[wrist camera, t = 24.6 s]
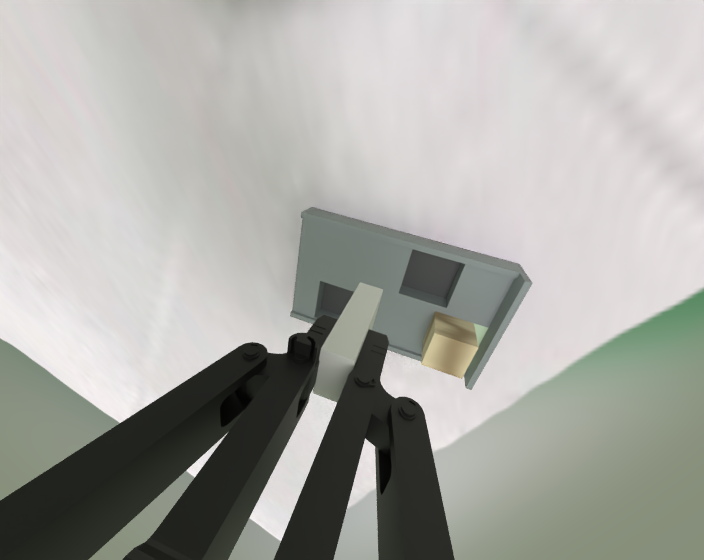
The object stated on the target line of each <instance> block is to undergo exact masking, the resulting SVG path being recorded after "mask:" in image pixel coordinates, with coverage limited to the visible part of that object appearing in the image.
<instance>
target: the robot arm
mask: <svg viewBox="0 0 704 560" xmlns="http://www.w3.org/2000/svg"><path fill="white" fill-rule="evenodd" d="M382 293H383V289H380V288H377V287H374V286H371V285H367V284H364V283H361V282H360V283H359V285H358V287H357V288H356V290H355V292H354V293H353V295H352V297H351V299H350V300H349V302H348V304H347V305H346V307H345V309H344V310H343V312H342V314H341V315H340V317H339V319H335V318H332V317H329V316H326V315H323V316H321V317H319V318H317V320H316V321H315V322H314V324H313V326H312V327H311V328H310V330H309V331H308V332H307V333H297V334H294V335H292V336H291V337H290V338H289V342H288V351H287V353H285V354H274V353H268V352H267V349H266V348H265V347H264V346H263V345H262V344H259V343H253V342H251V343H246V344H243V345H241V346H239V347H238V348H236V349H235V350H233V351H232V352H230V353H228V354H227V355H225V356H224V357H222V358H221V359H219V360H218V361H216V362H215V363H213V364H211V365H210V366H208V367H207V368H205V369H204V370H202V371H201V372H199V373H197V374H196V375H194V376H193V377H191V378H190V379H188V380H187V381H185V382H183V383H182V384H180V385H179V386H177V387H176V388H174V389H173V390H171V391H170V392H168V393H166V394H165V395H163V396H162V397H160V398H159V399H157V400H156V401H154V402H152V403H151V404H149V405H148V406H146V407H145V408H143V409H142V410H140V411H139V412H137V413H135V414H134V415H132V416H131V417H129V418H128V419H126V420H125V421H123V422H121V423H120V424H118V425H117V426H115V427H114V428H112V429H111V430H109V431H108V432H106V433H104V434H103V435H101V436H100V437H98V438H97V439H95V440H94V441H92V442H90V443H89V444H87V445H86V446H84V447H83V448H81V449H80V450H78V451H77V452H75V453H73V454H72V455H70V456H69V457H67V458H66V459H64V460H63V461H61V462H60V463H58V464H56V465H55V466H53V467H52V468H50V469H49V470H47V471H46V472H44V473H43V474H41V475H39V476H38V477H36V478H35V479H33V480H32V481H30V482H28V483H27V484H25V485H24V486H22V487H21V488H19V489H18V490H16V491H14V492H13V493H11V494H10V495H9V496H7V497H5V498H4V499H2V500H1V501H0V560H88V559H89V558H90V557H92V556H93V555H94V554H95V553H96V552H97V551H98V550H99V549H100V548H102V546H104V545H105V544H106V543H107V542H108V541H109V540H110V539H111V538H113V537H114V536H115V535H116V534H117V533H118V532H119V531H120V530H121V529H122V528H123V527H125V526H126V525H127V524H128V523H129V522H130V521H131V520H132V519H133V518H134V517H135V516H137V515H138V514H139V513H140V512H141V511H142V510H143V509H144V508H145V507H146V506H148V505H149V504H150V503H151V502H152V501H153V500H154V499H155V498H156V497H157V496H159V495H160V494H161V493H162V492H163V491H164V490H165V489H166V488H167V487H168V486H169V485H171V484H172V483H173V482H174V481H175V480H176V479H177V478H178V477H179V476H180V475H181V474H183V473H184V472H185V471H186V470H187V469H188V468H189V467H190V466H191V465H193V464H194V463H195V462H196V461H197V460H198V459H199V458H200V457H201V456H202V455H203V454H205V453H206V452H207V451H208V450H209V449H210V448H211V447H212V446H213V445H214V444H216V443H217V442H218V441H219V440H220V439H221V438H222V437H223V436H224V435H225V434H226V433H227V435H226V436H225V438H224V439H223V440H222V442H221V443H220V444H219V446H218V447H217V448H216V450H215V451H214V452H213V454H212V455H211V457H210V458H209V459H208V461H207V462H206V463H205V465H204V466H203V467H202V469H201V470H200V471H199V473H198V474H197V475H196V477H195V478H194V480H193V481H192V482H191V484H190V485H189V486H188V488H187V489H186V490H185V492H184V493H183V494H182V496H181V497H180V499H179V500H178V501H177V503H176V504H175V505H174V507H173V508H172V509H171V511H170V512H169V513H168V515H167V516H166V517H165V519H164V520H163V522H162V523H161V524H160V526H159V527H158V528H157V530H156V531H155V532H154V534H153V535H152V536H151V537H150V538H149V539H148V540H147V541H146V542H145V543H143V544H141V545H139V546H137V547H135V548H134V549H133V550H132V551H131V552H129V553H128V555H126V556H125V557H124V558H123V560H228V558H229V556H230V554H231V552H232V550H233V548H234V546H235V544H236V542H237V541H238V539H239V537H240V535H241V533H242V531H243V529H244V527H245V525H246V523H247V521H248V519H249V517H250V515H251V513H252V511H253V509H254V507H255V505H256V503H257V501H258V500H259V498H260V496H261V494H262V492H263V490H264V488H265V486H266V484H267V482H268V480H269V478H270V476H271V474H272V472H273V470H274V468H275V466H276V464H277V462H278V460H279V458H280V457H281V455H282V453H283V451H284V449H285V447H286V445H287V443H288V441H289V439H290V437H291V435H292V433H293V431H294V429H295V427H296V425H297V423H298V421H299V419H300V417H301V416H302V414H303V412H304V410H305V408H306V406H307V404H308V401H309V396H310V393H311V391H312V389H313V387H314V389H313V393H314V394H317V395H320V396H322V397H325V398H327V399H330V400H332V401H335V402H337V405H336V407H335V410H334V412H333V415H332V417H331V420H330V422H329V425H328V427H327V430H326V432H325V434H324V437H323V439H322V442H321V444H320V447H319V449H318V452H317V454H316V457H315V459H314V462H313V464H312V467H311V469H310V472H309V474H308V476H307V479H306V481H305V484H304V486H303V489H302V491H301V494H300V496H299V499H298V501H297V504H296V506H295V509H294V511H293V514H292V516H291V518H290V521H289V523H288V526H287V528H286V531H285V533H284V536H283V538H282V541H281V543H280V546H279V548H278V551H277V553H276V555H275V558H274V560H333V559H334V555H335V551H336V547H337V544H338V539H339V536H340V532H341V528H342V524H343V520H344V517H345V513H346V509H347V505H348V501H349V498H350V494H351V490H352V486H353V482H354V478H355V474H356V471H357V467H358V463H359V459H360V455H361V451H362V448H363V444H364V440H365V438H366V439H367V440H368V441H369V442H371V443H372V444H373V445H374V446H375V454H376V487H377V519H378V552H379V560H454V556H453V550H452V545H451V540H450V536H449V531H448V526H447V521H446V516H445V511H444V507H443V502H442V497H441V492H440V487H439V482H438V478H437V473H436V468H435V463H434V458H433V453H432V449H431V444H430V439H429V434H428V429H427V424H426V420H425V415H424V412H423V409H422V408H421V406H420V405H419V404H418V403H417V402H416V401H414V400H413V399H411V398H408V397H398V398H396V399H395V398H394V397H392V396H391V395H390V394H388V393H387V392H386V391H385V390H384V388H383V387H382V385H381V382H380V376H381V372H382V368H383V364H384V360H385V357H386V353H387V349H388V345H389V340H388V337H387V335H385V334H382V333H379V332H376V331H373V330H371V329H372V327H373V324H374V320H375V317H376V313H377V310H378V307H379V303H380V300H381V296H382Z"/></svg>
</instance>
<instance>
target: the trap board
mask: <svg viewBox="0 0 704 560" xmlns="http://www.w3.org/2000/svg"><path fill="white" fill-rule="evenodd" d="M301 218H303V220H302V229H301V238H300V247H299V256H298V265H297V274H296V283H295V291H294V300H293V309H292V312H291V315H290V316H291V317H294V318H297V319H300V320H303V321H305V322H308V323H311V324H314V322H315V321H316V320H317V318H319V317H321V316H323V315H326V316H329V317H332V318H335V319H339V317H340V315H341V314H342V312H343V310H344V309H345V307H346V305H347V304H348V302H349V300H350V299H351V297H352V295H353V293H354V292H355V290H356V288H357V287H358V285H359V283H360V282H361V283H364V284H367V285H371V286H374V287H377V288H380V289H383V293H382V296H381V300H380V303H379V307H378V310H377V313H376V317H375V320H374V324H373V327H372V329H371V330H373V331H376V332H379V333H382V334H385V335H387V337H388V340H389V345H388V349H387V350H390V351H393V352H395V353H398V354H401V355H404V356H407V357H410V358H413V359H416V360H419V361H421V360H422V348H423V339H424V337H425V335H426V332H427V330H428V327H429V325H430V322H431V320H432V317H433V315H434V313H435V311H437V312H440V313H443V314H446V315H449V316H452V317H456V318H459V319H462V320H465V321H468V322H471V323H474V327H475V332H476V337H477V342H478V347H479V348H478V350H477V351H476V353H475V355H474V357H473V359H472V361H471V363H470V364H469V366H468V368H467V370H466V372H465V374H464V377H465V386H466V388H467V389H470V390H472V388H473V386H474V384H475V383H476V381H477V379H478V377H479V376H480V374H481V372H482V370H483V369H484V367H485V365H486V363H487V362H488V360H489V358H490V356H491V355H492V353H493V351H494V349H495V348H496V346H497V344H498V342H499V341H500V339H501V337H502V335H503V334H504V332H505V330H506V328H507V327H508V325H509V323H510V321H511V320H512V318H513V316H514V314H515V313H516V311H517V309H518V308H519V306H520V304H521V302H522V301H523V299H524V297H525V295H526V294H527V292H528V290H529V288H530V287H531V285H532V282H531V280H530V279H529V277H528V276H527V274H526V273H525V271H524V270H523V269H522V267H521V266H520V264H517V263H513V262H510V261H506V260H503V259H499V258H495V257H492V256H488V255H484V254H481V253H477V252H473V251H470V250H466V249H462V248H459V247H455V246H451V245H448V244H444V243H440V242H437V241H433V240H430V239H426V238H422V237H419V236H415V235H411V234H408V233H404V232H400V231H397V230H393V229H389V228H386V227H382V226H378V225H375V224H371V223H367V222H364V221H360V220H357V219H353V218H349V217H346V216H342V215H338V214H335V213H331V212H327V211H324V210H320V209H316V208H313V207H311V208H309V209H307V210H305V211H303V212H302V213H301Z"/></svg>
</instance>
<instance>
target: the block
mask: <svg viewBox="0 0 704 560" xmlns="http://www.w3.org/2000/svg"><path fill="white" fill-rule="evenodd" d="M478 348H479V347H478V342H477V337H476V332H475V327H474V323H471V322H468V321H465V320H462V319H459V318H456V317H452V316H449V315H446V314H443V313H440V312H437V311H435V313H434V315H433V317H432V320H431V322H430V325H429V327H428V330H427V332H426V335H425V337H424V339H423V348H422V360H421V365H424V366H427V367H430V368H433V369H435V370H438V371H441V372H444V373H447V374H450V375H453V376H455V377H458V378H461V379H462V377H463V376H464V374H465V372H466V370H467V368H468V366H469V364H470V363H471V361H472V359H473V357H474V355H475V353H476V351H477V350H478Z"/></svg>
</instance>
